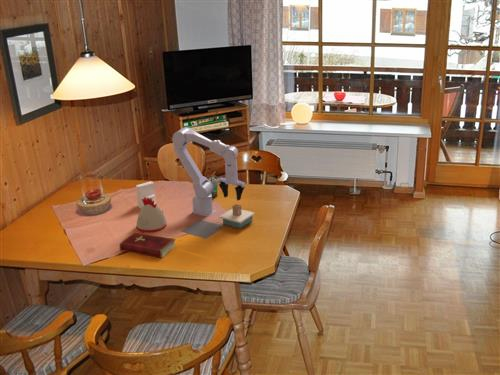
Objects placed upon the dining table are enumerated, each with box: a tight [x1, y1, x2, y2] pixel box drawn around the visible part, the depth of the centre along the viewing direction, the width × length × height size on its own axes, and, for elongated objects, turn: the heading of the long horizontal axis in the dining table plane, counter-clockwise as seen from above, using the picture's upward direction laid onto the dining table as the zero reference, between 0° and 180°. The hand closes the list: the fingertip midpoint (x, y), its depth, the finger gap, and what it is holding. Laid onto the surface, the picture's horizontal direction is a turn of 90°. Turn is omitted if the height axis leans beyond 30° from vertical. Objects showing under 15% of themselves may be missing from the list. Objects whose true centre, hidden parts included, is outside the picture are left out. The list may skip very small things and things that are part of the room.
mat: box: [180, 219, 227, 240], centre depth 265 cm, size 15×15×1 cm
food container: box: [207, 174, 220, 200], centre depth 302 cm, size 12×6×10 cm, turn 168°
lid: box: [219, 203, 256, 223], centre depth 268 cm, size 12×12×5 cm
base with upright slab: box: [136, 180, 157, 210], centre depth 291 cm, size 9×9×12 cm
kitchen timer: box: [136, 197, 168, 234], centre depth 266 cm, size 14×14×15 cm
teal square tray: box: [222, 216, 253, 230], centre depth 270 cm, size 10×10×4 cm
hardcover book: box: [119, 231, 176, 259], centre depth 248 cm, size 12×21×4 cm, turn 67°
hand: (232, 198), depth 275 cm, fingers open, 7 cm apart
